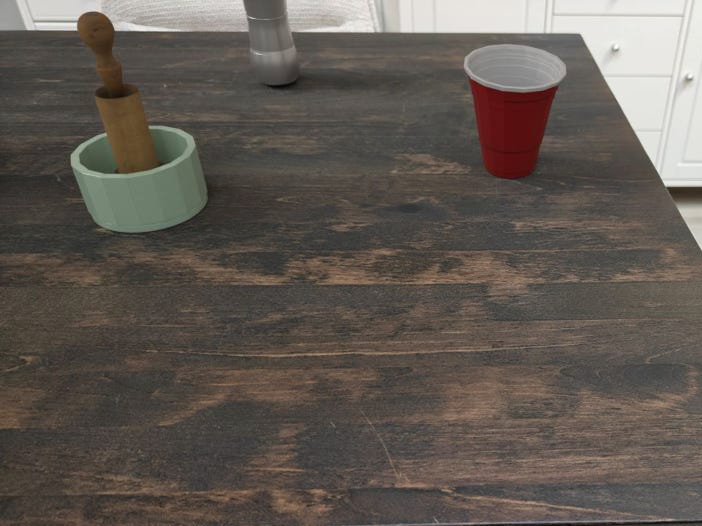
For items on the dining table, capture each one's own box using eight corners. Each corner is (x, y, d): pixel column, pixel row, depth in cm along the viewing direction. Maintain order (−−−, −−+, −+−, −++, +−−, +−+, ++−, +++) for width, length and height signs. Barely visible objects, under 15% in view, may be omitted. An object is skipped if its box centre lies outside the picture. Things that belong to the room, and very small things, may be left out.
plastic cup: (494, 199, 79) (498, 88, 72) (446, 159, 86) (444, 53, 79) (576, 176, 84) (588, 68, 76) (524, 139, 91) (530, 37, 83)
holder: (124, 246, 72) (104, 190, 68) (71, 203, 78) (50, 149, 74) (229, 204, 78) (217, 150, 74) (173, 167, 84) (159, 116, 80)
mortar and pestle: (194, 190, 78) (146, 8, 67) (150, 218, 74) (90, 29, 62) (146, 176, 80) (91, -2, 69) (100, 203, 76) (33, 18, 64)
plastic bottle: (280, 94, 100) (252, -74, 87) (243, 84, 103) (211, -82, 90) (312, 79, 104) (290, -84, 91) (276, 70, 107) (250, -90, 94)
